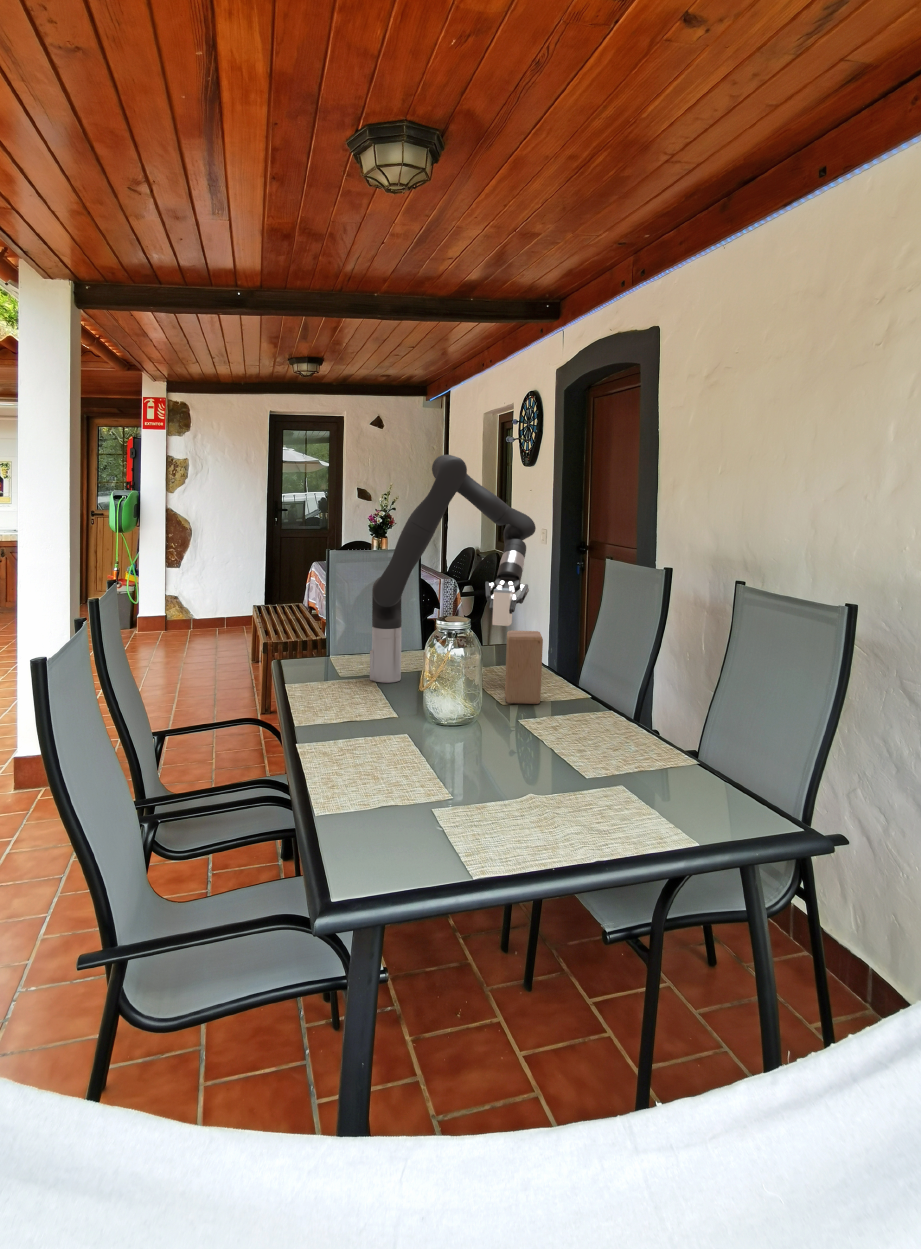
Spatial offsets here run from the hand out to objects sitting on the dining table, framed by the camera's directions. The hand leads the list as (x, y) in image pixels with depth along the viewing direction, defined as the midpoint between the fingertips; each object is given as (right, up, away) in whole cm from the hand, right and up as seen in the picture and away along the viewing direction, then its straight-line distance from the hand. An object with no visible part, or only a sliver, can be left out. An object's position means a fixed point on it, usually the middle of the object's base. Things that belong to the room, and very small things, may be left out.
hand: (501, 611), depth 246 cm
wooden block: (+6, -26, -7) cm, 28 cm away
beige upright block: (0, -4, +2) cm, 5 cm away
